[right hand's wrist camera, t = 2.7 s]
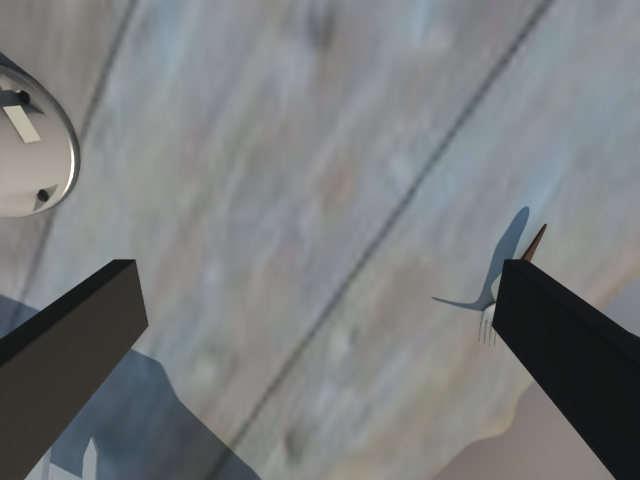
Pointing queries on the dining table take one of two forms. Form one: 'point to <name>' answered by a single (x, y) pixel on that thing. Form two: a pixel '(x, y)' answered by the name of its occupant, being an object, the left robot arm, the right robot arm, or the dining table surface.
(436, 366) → the dining table surface
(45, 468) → the white plastic object
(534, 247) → the fork
